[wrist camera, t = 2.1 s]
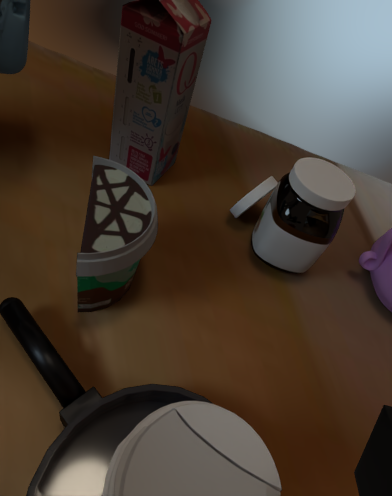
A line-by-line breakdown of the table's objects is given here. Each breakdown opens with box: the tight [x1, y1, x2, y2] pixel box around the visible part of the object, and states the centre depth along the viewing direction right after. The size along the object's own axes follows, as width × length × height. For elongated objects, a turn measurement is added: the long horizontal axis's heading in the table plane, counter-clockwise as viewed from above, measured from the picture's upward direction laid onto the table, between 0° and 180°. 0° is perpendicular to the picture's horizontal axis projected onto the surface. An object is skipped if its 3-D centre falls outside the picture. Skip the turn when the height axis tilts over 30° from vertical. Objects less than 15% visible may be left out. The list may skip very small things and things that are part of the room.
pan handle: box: [0, 297, 102, 427], centre depth 28 cm, size 12×3×2 cm, turn 44°
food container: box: [76, 156, 158, 312], centre depth 33 cm, size 12×6×10 cm, turn 5°
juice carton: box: [109, 0, 211, 186], centre depth 41 cm, size 7×7×22 cm
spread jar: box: [230, 157, 356, 273], centre depth 41 cm, size 12×11×12 cm
